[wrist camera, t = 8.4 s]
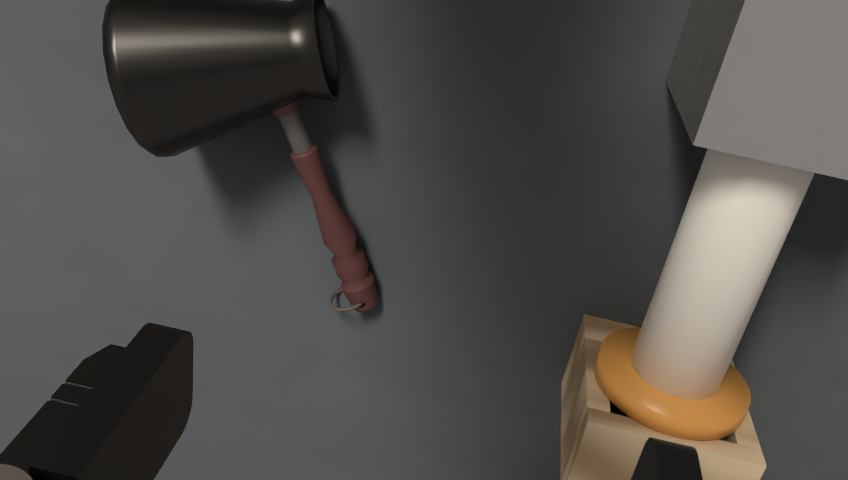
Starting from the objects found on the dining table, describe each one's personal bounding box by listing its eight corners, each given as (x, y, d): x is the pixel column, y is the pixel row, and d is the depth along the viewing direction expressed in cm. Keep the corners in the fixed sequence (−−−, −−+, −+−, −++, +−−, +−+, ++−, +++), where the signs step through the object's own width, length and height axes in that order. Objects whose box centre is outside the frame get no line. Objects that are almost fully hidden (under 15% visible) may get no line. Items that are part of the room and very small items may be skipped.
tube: (704, -3, 32) (735, 32, 26) (873, 34, 32) (945, 78, 26) (580, 364, 41) (583, 454, 35) (713, 396, 40) (739, 493, 34)
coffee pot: (134, -33, 37) (316, -63, 36) (242, 282, 46) (387, 263, 46) (76, 17, 30) (295, -19, 30) (214, 370, 40) (383, 349, 39)
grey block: (712, -60, 33) (756, -32, 25) (884, -23, 32) (981, 17, 25) (666, 81, 36) (693, 144, 28) (823, 116, 35) (894, 190, 28)
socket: (583, 313, 41) (588, 421, 34) (728, 348, 41) (766, 466, 33) (561, 382, 43) (560, 499, 36) (698, 416, 43) (728, 542, 35)
